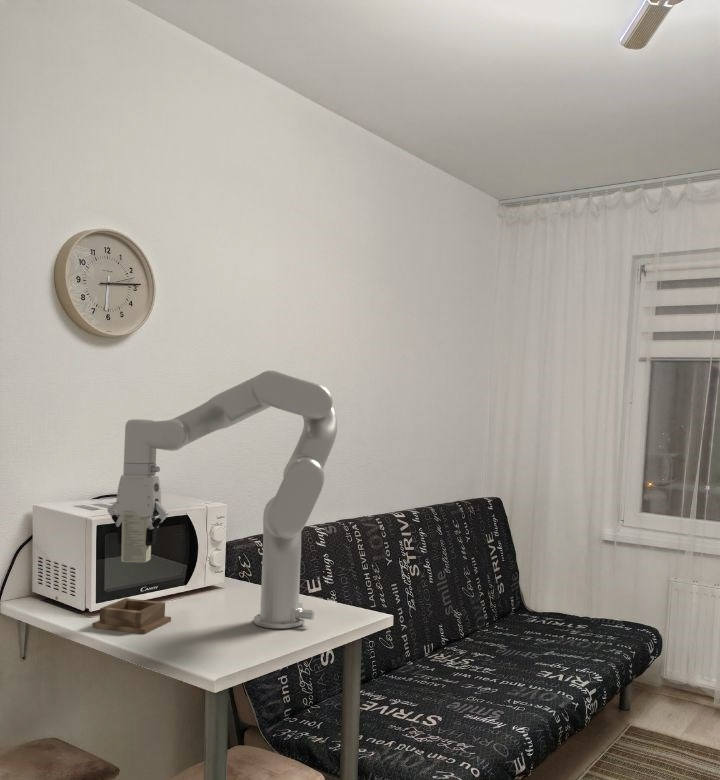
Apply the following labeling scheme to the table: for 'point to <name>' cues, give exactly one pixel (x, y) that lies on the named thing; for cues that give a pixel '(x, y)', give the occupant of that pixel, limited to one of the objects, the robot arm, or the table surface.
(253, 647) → the table surface
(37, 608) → the table surface
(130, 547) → the skincare box
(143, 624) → the socket block
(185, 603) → the table surface
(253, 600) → the table surface
